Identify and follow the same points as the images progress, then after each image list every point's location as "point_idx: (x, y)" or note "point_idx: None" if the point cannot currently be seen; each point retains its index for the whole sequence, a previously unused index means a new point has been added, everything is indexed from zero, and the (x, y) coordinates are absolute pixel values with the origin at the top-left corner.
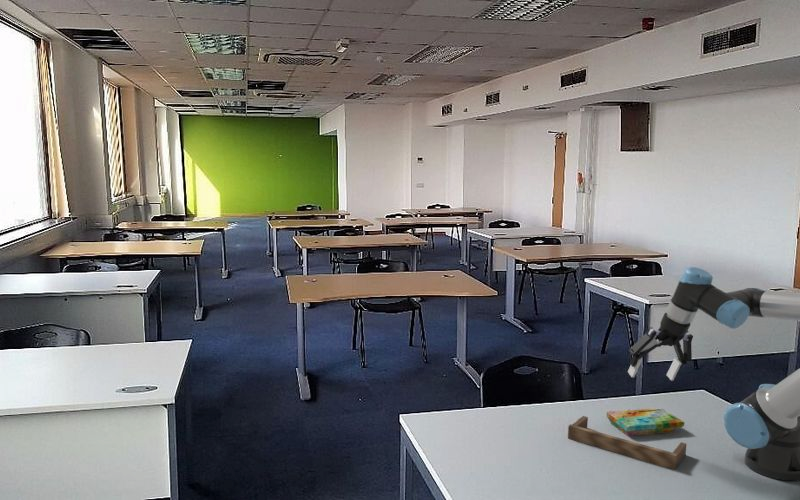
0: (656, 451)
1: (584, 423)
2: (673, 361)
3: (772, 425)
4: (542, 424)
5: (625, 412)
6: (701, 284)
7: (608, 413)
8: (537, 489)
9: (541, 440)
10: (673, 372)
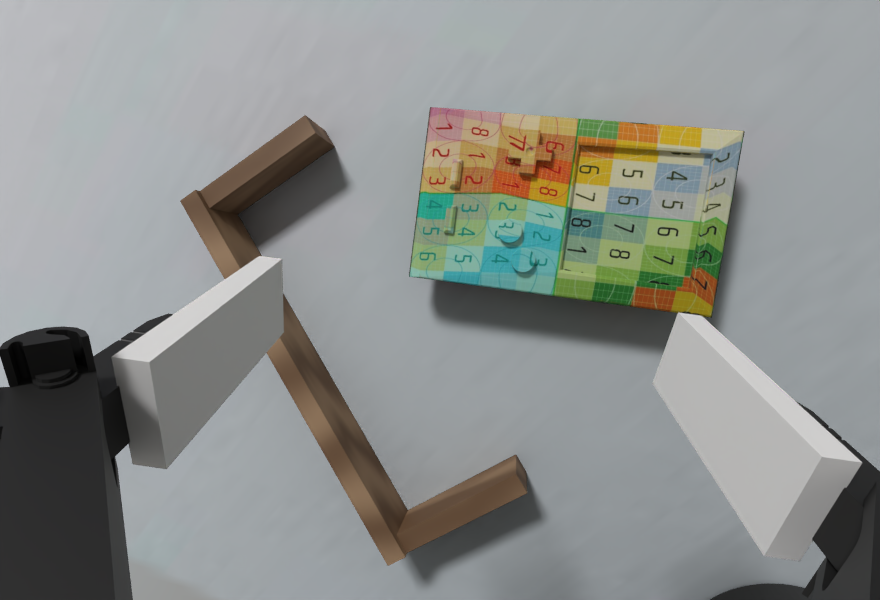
0: (354, 502)
1: (295, 157)
2: (777, 425)
3: None
4: (195, 71)
5: (505, 141)
6: None
7: (429, 120)
8: None
9: (126, 196)
10: (691, 419)
